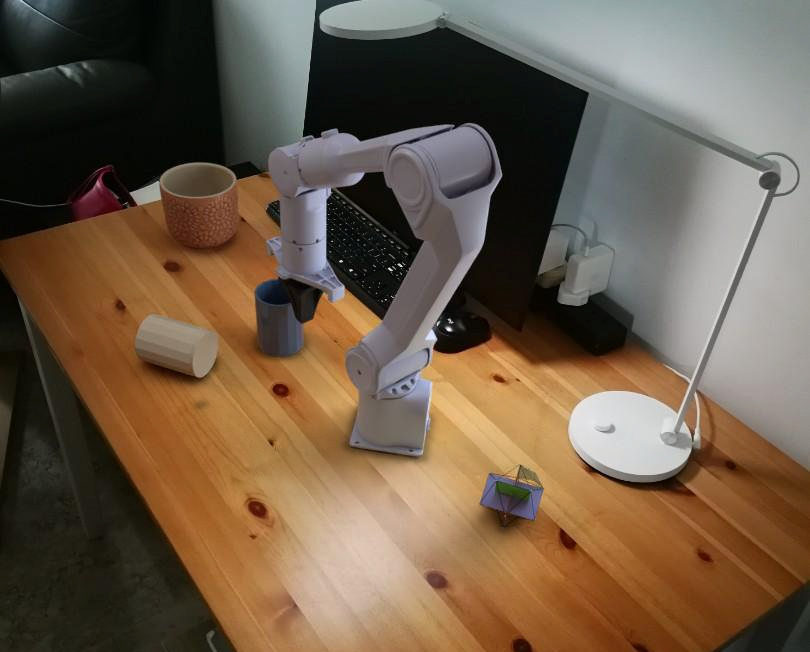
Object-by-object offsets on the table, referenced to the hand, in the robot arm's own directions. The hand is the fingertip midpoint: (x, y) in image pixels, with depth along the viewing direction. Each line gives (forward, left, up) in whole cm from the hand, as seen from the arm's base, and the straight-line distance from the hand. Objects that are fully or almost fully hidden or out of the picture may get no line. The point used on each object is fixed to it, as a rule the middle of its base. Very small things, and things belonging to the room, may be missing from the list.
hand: (304, 319), depth 116 cm
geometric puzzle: (-30, +22, -8) cm, 38 cm away
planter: (+25, -29, -8) cm, 39 cm away
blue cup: (+5, -4, -8) cm, 10 cm away
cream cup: (+13, +5, -5) cm, 14 cm away
